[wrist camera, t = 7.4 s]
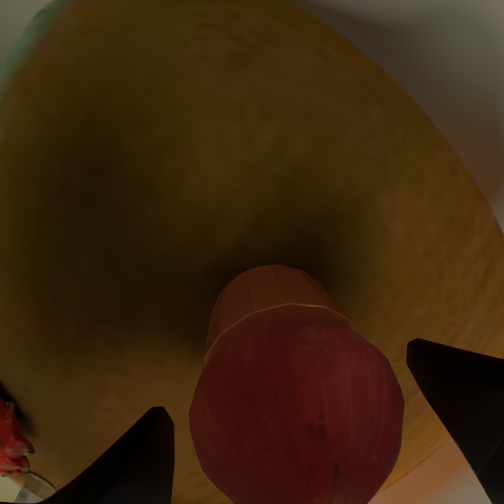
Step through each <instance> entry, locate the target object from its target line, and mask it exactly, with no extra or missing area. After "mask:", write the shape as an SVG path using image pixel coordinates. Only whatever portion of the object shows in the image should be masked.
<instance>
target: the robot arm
mask: <svg viewBox="0 0 504 504" xmlns="http://www.w3.org/2000/svg"><path fill="white" fill-rule="evenodd" d="M406 361H407V366H408V368H409V369H410V371H411V373H412V375H413V377H414V378H415V380H416V382H417V384H418V386H419V388H420V390H421V391H422V393H423V395H424V397H425V398H426V400H427V401H428V403H429V404H430V406H431V407H432V408H433V410H434V411H435V413H436V414H437V416H438V417H439V419H440V420H441V422H442V423H443V424H444V426H445V427H446V429H447V430H448V432H449V433H450V435H451V437H452V438H453V439H454V441H455V443H456V444H457V446H458V447H459V449H460V450H461V452H462V453H463V455H464V457H465V458H466V460H467V462H468V463H469V465H470V466H471V468H472V470H473V471H474V473H475V475H476V477H477V478H478V480H479V482H480V483H481V485H482V487H483V488H484V490H485V492H486V494H487V495H488V497H489V499H490V501H491V503H492V504H504V359H501V358H496V357H492V356H487V355H483V354H479V353H475V352H471V351H466V350H462V349H458V348H454V347H450V346H446V345H443V344H439V343H435V342H431V341H427V340H424V339H420V338H417V339H414V340H412V341H410V342H409V343H408V345H407V358H406ZM174 464H175V449H174V423H173V421H172V419H171V418H170V416H169V414H168V413H167V411H166V410H165V408H164V407H162V406H157V407H152V408H150V409H149V410H148V411H147V412H146V413H145V414H144V415H143V416H142V417H141V418H140V419H139V420H138V421H137V422H136V423H135V424H134V425H133V426H132V427H131V428H130V429H129V430H128V431H127V432H126V433H124V434H123V435H122V436H121V437H120V438H119V439H118V440H117V441H116V442H115V443H114V444H113V445H112V446H111V447H110V448H109V449H107V450H106V451H105V452H104V453H103V454H102V455H101V456H100V457H99V458H98V459H97V460H96V461H94V462H93V463H92V465H90V466H89V467H88V468H87V469H86V470H84V471H83V472H82V473H81V474H80V475H79V476H77V477H76V478H75V479H74V480H72V481H71V482H70V483H68V484H67V485H65V486H64V487H63V488H61V489H60V490H58V491H57V492H55V493H54V494H52V495H51V496H49V497H48V498H46V499H45V500H43V501H40V502H37V503H10V502H0V504H171V497H172V485H173V475H174Z"/></svg>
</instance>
